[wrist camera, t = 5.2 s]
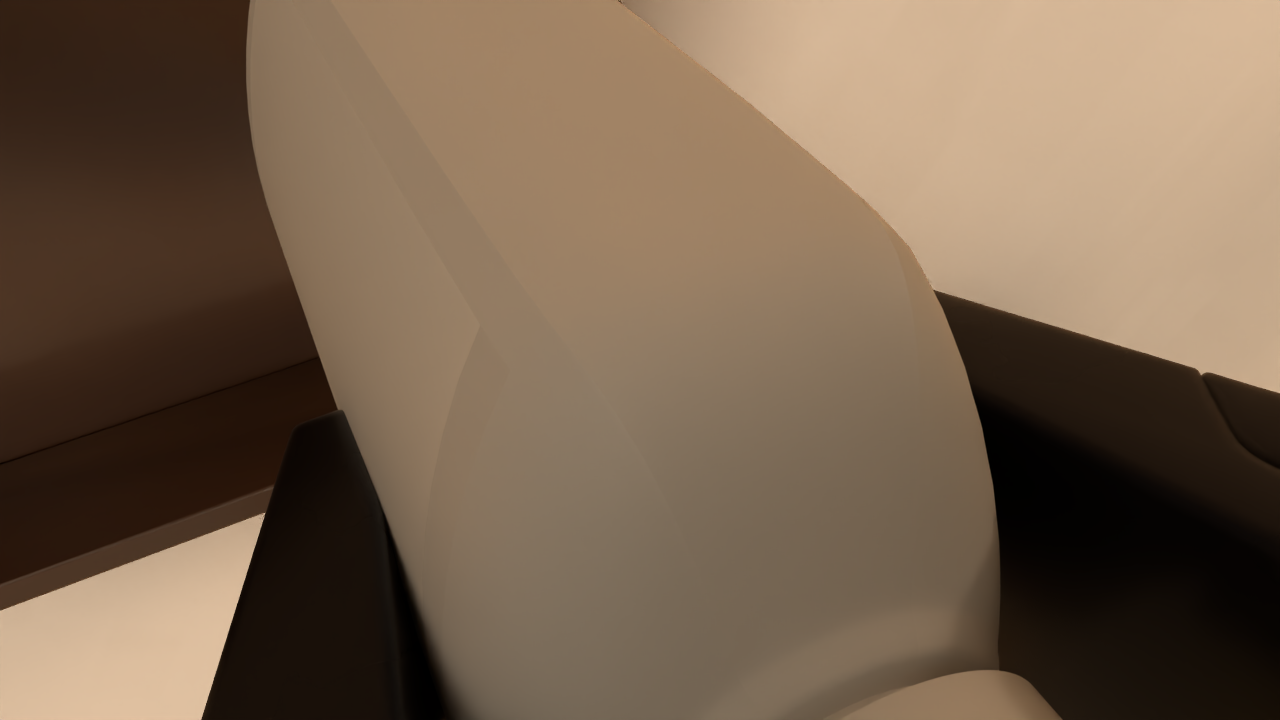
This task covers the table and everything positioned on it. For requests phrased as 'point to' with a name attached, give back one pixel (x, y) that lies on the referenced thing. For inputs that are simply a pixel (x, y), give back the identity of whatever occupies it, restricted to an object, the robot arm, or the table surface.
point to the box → (136, 290)
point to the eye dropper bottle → (627, 374)
